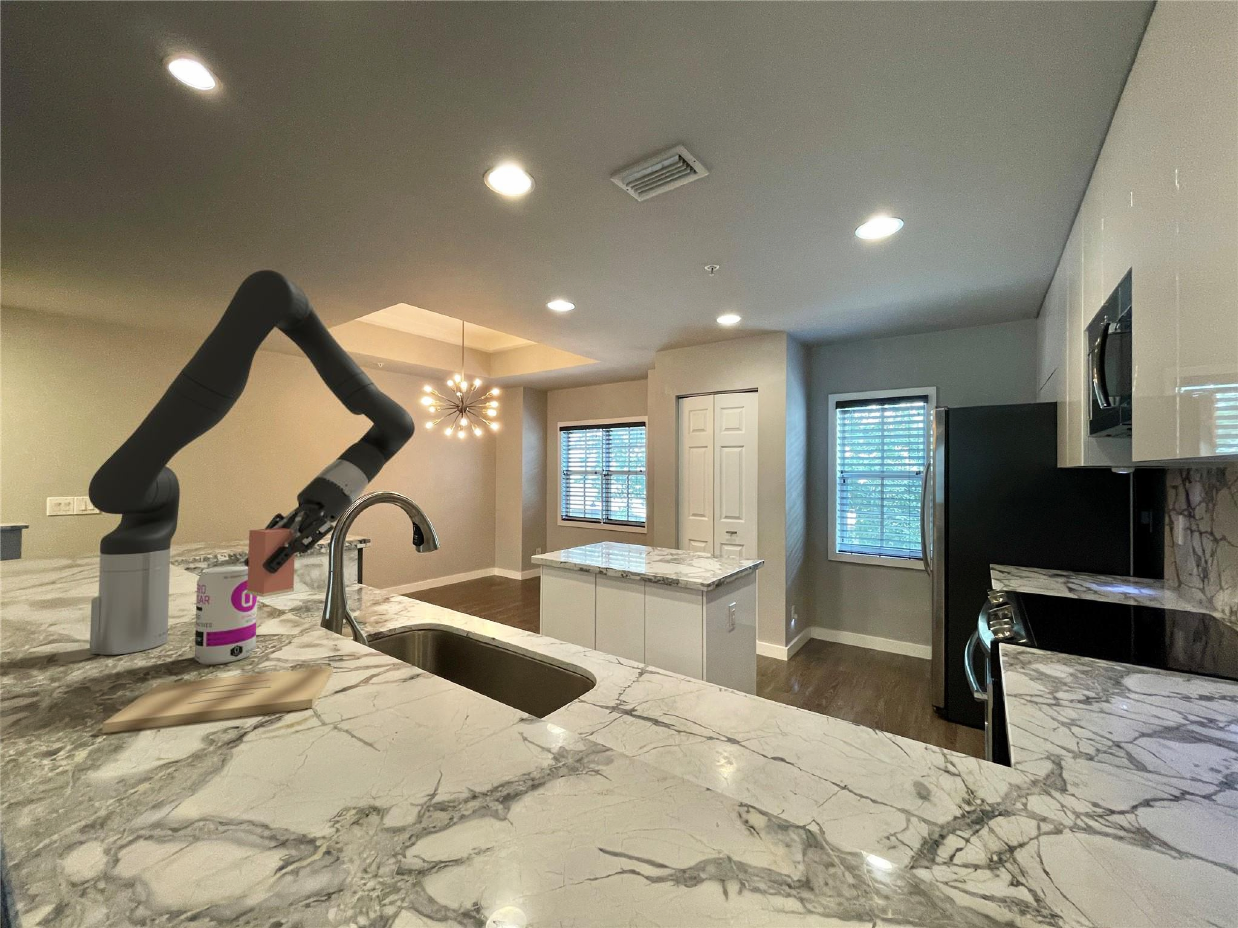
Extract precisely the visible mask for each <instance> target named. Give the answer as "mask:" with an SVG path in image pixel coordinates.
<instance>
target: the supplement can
mask: <svg viewBox="0 0 1238 928" xmlns="http://www.w3.org/2000/svg"><path fill="white" fill-rule="evenodd" d="M247 583H248V567H247V566H246V565H245V564H244V565H241V564H239V565H238V564H237V565H224V566H217V567H211V568H206V569H203V570H202V571H201V574H200V575H199V577H198V578H197V580H196V600H195V607H196V608H195V633H194V636H195V637H194V659H195V661H197V662H199V664H201V665H206V666H207V665H221V664H228V663H232V662H236V661H239V660H243V659H245V658H248V657H249V656H250V655H252V653H253V652H254V651H255V650H256V647H257V646H256V645H257V612H258V611H257V609H258V607H257V606H258V596H256V595H251V594H247Z"/></svg>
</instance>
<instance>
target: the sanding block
mask: <svg viewBox="0 0 1238 928" xmlns="http://www.w3.org/2000/svg"><path fill="white" fill-rule="evenodd" d="M290 531H291V530H289V529H285V528H272V529H265V528H261V529H249V532H248V533H249V535H248V557H247V558H248V560H249V562H248V583H247V594H251V595H256V596H257V597H262V598H265V597H272V596H276V595H283V594H288V593H292V592H295V586H294V582H295V561H296V558H295V556H296V555H294V556H293V555H292V556H291V557H290V558H289V559H288V560H287V561H286V562H285V563H284V565H283V566H282V567H281V568H280V569H279V570H278V571H277V572H276V573H274V574H273V573H269V572H268V571H267V570H265V569H264V568H263V567H262V565H263V563H264V562H265V561H266V560H267V559H268V558H269V557H270V556H271V555H272V554H273V553H274V552H275V551H276V550H277V549H278V548H279V547H282V548H283V546H282V544H283V542H284V541H285V540H286V539H287V538H288V537H289V532H290Z"/></svg>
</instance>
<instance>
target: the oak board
mask: <svg viewBox="0 0 1238 928" xmlns="http://www.w3.org/2000/svg"><path fill="white" fill-rule="evenodd" d="M333 671H334V667H333V666H326V667H315V668H306V669H298V670H295V669H294V670H286V671H276V672H275V671H274V672H266V673H257V674H247V675H237V676H234V675H233V676H225V677H217V678H207V679H196V680H195V679H194V680H187V681H186V680H185V681H184V680H183V681H177V682H166V683H158V684H156V686H154V687H152V688H151V689H150V690H148V691H146V692H145V693H144V694H142V695H141V696H139V697H138V698H136V699H135V700H134V701H132V702H131V703H130V704H128V705H126V706H125V707H123V708H122V709H121V710H120V711H118V712H117V713H115V714H113V715H112V716H111V717H109V718H108V719H106V720H105V721H104V722H102V727H101V728H102V730H101V731H102V732H101V733H102V734H107V733H116V732H126V731H133V730H141V729H142V730H143V729H150V728H157V727H159V728H160V727H165V726H174V725H182V724H190V723H198V722H208V721H216V720H224V719H232V718H238V717H239V718H240V716H241V717H247V716H250V717H251V716H256V715H257V716H258V715H264V714H274V713H282V712H289V711H297V710H298V711H299V710H306V708H307V709H313V708H314V706H315V704H316V702H317V701H318V699H319V698H320V696H321V695H322V692H323V691H324V690H325V688H326V686H327V685H328V683H329V681H330V680H331V678H332V677H333V674H334V672H333Z"/></svg>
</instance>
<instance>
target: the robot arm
mask: <svg viewBox="0 0 1238 928" xmlns="http://www.w3.org/2000/svg"><path fill="white" fill-rule="evenodd" d="M275 328H277V330H278V331H280V332H282V334H284V336H286V337H287V338H289V339H290V340H291V341H292V342H293V343H295V345H296V346H297V347H298V348H299V349H300V350H301V351H302V353H303V354H304V355H305V356H306V357H307V358H308V359H309V362H310V363H311V364H312V366H313V367H314V369H315V370H316V372H317V374H318V375H319V377H320V378H321V380H322V381H323V383H324V384H325V385H326V387H327V388H328V389H329V390H330V392H331V393H332V394H333V395H334V396H335V397H336V398H337V400H338V401H340V403H341V404H342V405H343V406H344V408H346V409H347V411H349V413H351V414H353V415H355V416H362V415H363V416H364V417H366V418H367V419H369V420H370V421H371V423H373V424H372V426H370V428H369V429H368V430H367V431H366V432H365V433H364V435H362V437H360V439H359V440H358V441H356V442H354V443H352V444H351V445H350V446H349V447H347V448H346V449H345V450H344V451H343V452H342V453H341V454H340V455H339V456H338V457H337V458H336V459H335V460H334V461H333V462H332V463H330V464H328V465H327V466H326V467H325V468H324V469H322V470H321V471H320V473H319V474H317V476H315V478H313V479H312V480H311V481H310V482H309V483H308V484H306V486H305V487H303V489H302V490H301V491H300V492H299V493H298V494H297V496H296V501H297V503H298V506H297V507H296V508H295V509H292V511H290V512H289V513H288V514H286V515H283V514H282V513H280V512H279V513H276V515H274V516H273V517H272V519H271V520H270V521H269V523H268V524H267V525H266V526H265V527H264V529H272V528H285V529H289V530H291V531H290V532H289V537H288V538H287V539H286V540H285V541H284V542H283V544H282V546H283V548H282V547H279V548H278V549H277V550H276V551H275V552H274V553H273V554H272V555H271V556H270V557H269V558H268V559H267V560H266V561H265V562H264V563H263V565H262V567H263V568H264V569H265V570H267V571H268V572H269V573H273V574H274V573H276V572H277V571H278V570H279V569H280V568H281V567H282V566H283V565H284V563H285V562H286V561H287V560H288V559H289V558H290V557H291V556H292V555H293V556H294V555H295V556H296V555H298V554H299V553H301V554H306V553H307V552H309V551H310V550H311V549H312V548H313V547H315V545H316V544H318V543H319V542H320V541H322V539H324V538H325V537H326V536H327V535H328V534H329V533H331V532H332V531H333V530H334V529H335V526H334V525H333V523H336V522H337V521H338V520H339V519H340V518H341V517H342V515H343V514H344V513H345V512H346V511H348V509H349V508H350V507H351V506H352V504H353V503H354V502H355V501H356V500H357V499H358V498H359V497H360V496H361V494H362V493H363V492H364V490H365V489H366V488H367V486H368V485H369V484H370V483H371V482H372V481H373V480H374V479H375V477H377V476H378V475H379V473H380V472H381V470H383V468H384V466H385V465H386V464H387V463H388V462H389V461H391V459H392V458H394V456H395V455H396V454H398V452H400V450H402V449H403V447H404V446H405V445H406V444H407V443H408V442H409V441H410V440H411V438H412V437H413V436H414V434H415V430H416V427H415V423H414V420H413V418H412V416H411V414H410V413H409V412H408V411H407V410H406V409H405V408H404V407H403V406H402V405H400V404H399V403H397V401H395V400H393V398H391V397H390V396H389V395H387V394H385V393H384V392H383V391H381V390H380V389H379V387H377V385H376V384H375V383H374V382H373V381H372V379H371V378H370V377H369V376H368V374H366V372H364V371H363V369H362V368H361V366H360V365H359V364H357V363H356V362H355V360H354V359H353V358H352V357H351V356H350V355H349V354H348V353H347V352H346V351H345V349H344V348H343V347H342V346H341V345H340V344H339V342H337V340H336V339H335V338H334V337H333V335H332V334H331V333H330V331H329V330H328V329H327V327H326V326H325V324H324V323H323V321H322V319H321V318H320V317H319V314H317V312H316V310H315V309H314V306H313V305H312V304H311V301H310V300H309V298H308V297H307V295H306V293H305V292H304V290H303V289H302V288H301V287H300V286H298V285H297V284H295V283H294V282H293V281H292V280H290V278H288V277H287V276H285V275H284V274H282V273H280V272H278V271H275V270H272V269H261V270H258V271H255V272H253V273H251V274H250V275H248V276H247V277H246V278H245V279H244V280H243V281H242V282H241V283H240V285H239V287H238V288H237V291H236V292H235V293H234V295H233V297H232V299H231V300H230V302H229V304H228V306H227V307H226V309H225V310H224V312H223V315H222V316H221V317H220V320H219V321H218V323H216V325H215V327H214V329H213V330H212V331H211V332H210V334H209V335H208V336H207V337H206V338H205V340H204V341H203V342H202V343H201V345H200V347H199V348H198V349H197V351H196V352H195V353H194V354H193V356H192V357H191V359H189V361H188V362H187V363H186V364H185V366H184V367H183V368H182V369H181V371H180V372H179V373H178V375H176V377H175V378H174V379H173V381H172V382H171V384H170V385H169V386H168V387H167V389H166V390H165V392H164V394H162V397H161V398H160V399H159V400H158V402H157V403H156V404H155V405H154V406H153V408H152V409H151V411H149V413H148V414H147V415H146V416H145V418H144V419H143V421H141V423H140V424H139V425H138V427H137V428H136V430H134V432H133V433H132V434H131V435H130V436H129V437H128V438H127V439H126V440H125V441H124V442H123V443H122V444H121V445H120V447H119V448H118V449H116V450H115V452H113V454H112V455H111V456H110V457H108V459H106V461H105V462H103V463H102V465H101V466H100V467H99V468H98V469H97V471H96V472H95V473H94V474H93V476H92V478H91V480H90V482H89V485H88V486H89V487H88V491H87V492H88V498H89V502H90V503H91V505H92V506H93V507H94V509H96V510H97V511H100V512H102V513H104V514H105V513H106V514H110V515H121V520H120V522H119V523H118V525H117V526H116V527H115V529H113V530H112V531H111V532H109V533H107V534H106V535H104V536H103V537H102V538H101V539H100V545H99V567H98V569H99V572H98V596H96V597H93V598H92V599H91V603H90V604H91V605H90V630H89V631H90V634H89V635H90V636H89V655H95V654H96V655H103V656H104V655H105V656H109V655H111V656H112V655H122V654H130V653H137V652H141V651H147V650H150V649H151V650H152V649H153V648H157V647H160V646H163V645H164V644H165V643H167V642H168V641H169V640H168V638H169V637H168V633H169V608H170V607H169V606H170V573H171V572H170V570H171V569H170V568H171V567H170V566H171V565H170V564H171V545H172V539H173V537H174V536H175V533H176V532H177V527H178V520H179V519H178V518H179V510H180V509H179V508H180V494H181V492H180V491H181V490H180V482H179V479H178V477H177V475H176V473H175V472H174V471H173V470H172V469H171V468H169V467H168V466H167V465H168V464H169V462H170V460H171V459H172V458H173V457H174V456H175V455H176V454H177V453H179V452H180V451H181V450H183V448H185V447H186V446H188V445H189V444H191V443H192V442H194V441H195V440H196V439H198V438H200V437H202V436H203V435H204V434H207V432H209V431H210V430H211V429H213V428H214V427H215V426H217V425H218V424H219V423H220V422H221V421H222V420H223V419H224V418H225V417H226V416H227V415H228V413H229V412H230V411H231V409H232V408H233V407H234V405H235V404H236V402H237V401H238V399H240V398H241V395H242V394H243V393H244V391H245V389H246V386H247V383H248V380H249V377H250V372H251V368H252V364H253V361H254V358H255V355H256V353H257V352H258V349H259V347H260V346H261V345H262V343H263V342H264V340H266V339H267V337H268V336H269V334H270V333H271V332H273V330H274V329H275ZM248 562H249V560H248V557H247V558H246V559H245V560H244V561H243V564H244V565H246V566H247V567H248Z"/></svg>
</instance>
